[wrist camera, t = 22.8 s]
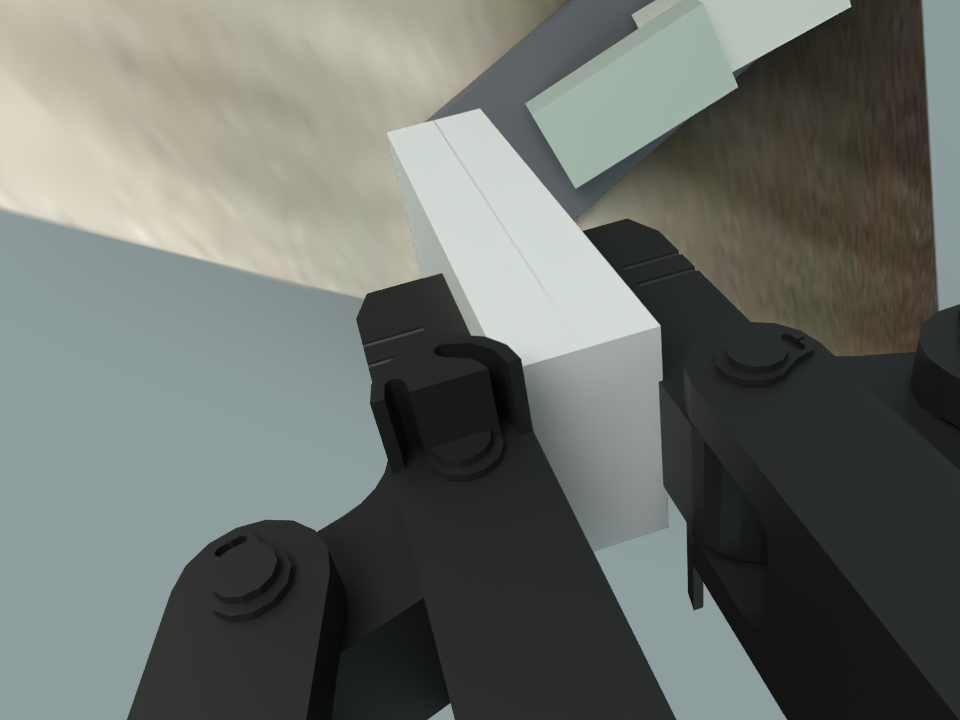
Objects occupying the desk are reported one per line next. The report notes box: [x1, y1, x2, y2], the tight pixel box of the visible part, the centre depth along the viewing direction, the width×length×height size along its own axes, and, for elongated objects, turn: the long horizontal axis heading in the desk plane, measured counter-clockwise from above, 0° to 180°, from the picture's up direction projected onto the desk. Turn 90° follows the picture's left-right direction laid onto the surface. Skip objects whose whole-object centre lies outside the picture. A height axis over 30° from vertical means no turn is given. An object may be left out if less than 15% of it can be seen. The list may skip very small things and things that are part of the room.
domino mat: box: [426, 0, 760, 220], centre depth 47 cm, size 10×25×1 cm, turn 125°
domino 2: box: [632, 0, 851, 72], centre depth 44 cm, size 5×2×10 cm
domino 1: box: [525, 0, 738, 189], centre depth 44 cm, size 5×2×10 cm
